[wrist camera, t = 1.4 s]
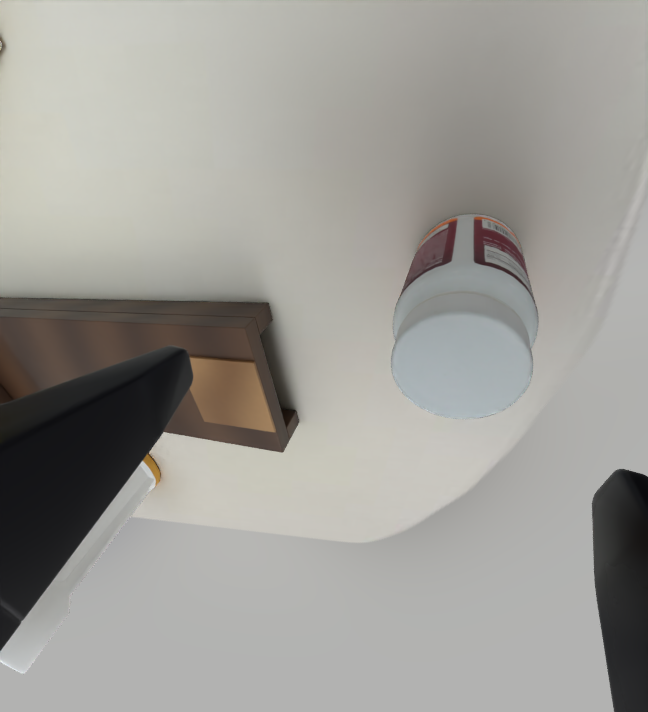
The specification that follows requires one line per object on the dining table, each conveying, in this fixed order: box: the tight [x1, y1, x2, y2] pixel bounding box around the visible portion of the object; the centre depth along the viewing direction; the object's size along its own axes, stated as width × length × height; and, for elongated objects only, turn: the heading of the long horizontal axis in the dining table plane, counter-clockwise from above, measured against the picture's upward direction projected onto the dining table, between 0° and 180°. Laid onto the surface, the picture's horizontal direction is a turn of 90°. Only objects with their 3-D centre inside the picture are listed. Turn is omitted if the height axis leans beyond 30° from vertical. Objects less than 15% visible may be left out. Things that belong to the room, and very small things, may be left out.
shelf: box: [0, 298, 299, 452], centre depth 28 cm, size 29×10×5 cm, turn 99°
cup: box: [0, 454, 160, 674], centre depth 35 cm, size 11×11×17 cm
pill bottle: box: [391, 214, 538, 419], centre depth 14 cm, size 5×5×8 cm
